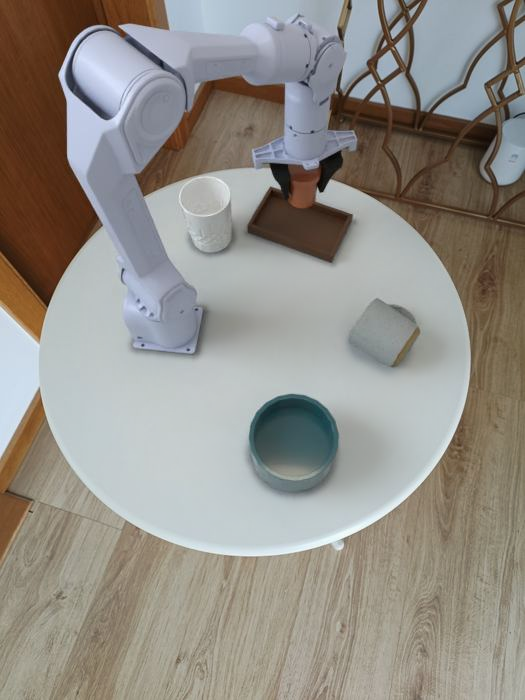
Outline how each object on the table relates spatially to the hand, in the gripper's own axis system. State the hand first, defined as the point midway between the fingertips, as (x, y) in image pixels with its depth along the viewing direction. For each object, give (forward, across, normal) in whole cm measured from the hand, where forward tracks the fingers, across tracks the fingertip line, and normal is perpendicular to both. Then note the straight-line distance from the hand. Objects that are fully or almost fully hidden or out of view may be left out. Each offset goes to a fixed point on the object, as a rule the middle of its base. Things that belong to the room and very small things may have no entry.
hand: (302, 191), depth 82 cm
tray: (+9, 0, 0) cm, 9 cm away
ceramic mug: (+10, +7, -23) cm, 26 cm away
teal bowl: (+9, -11, -36) cm, 39 cm away
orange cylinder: (+1, 0, 0) cm, 1 cm away
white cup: (+10, -15, +2) cm, 18 cm away
